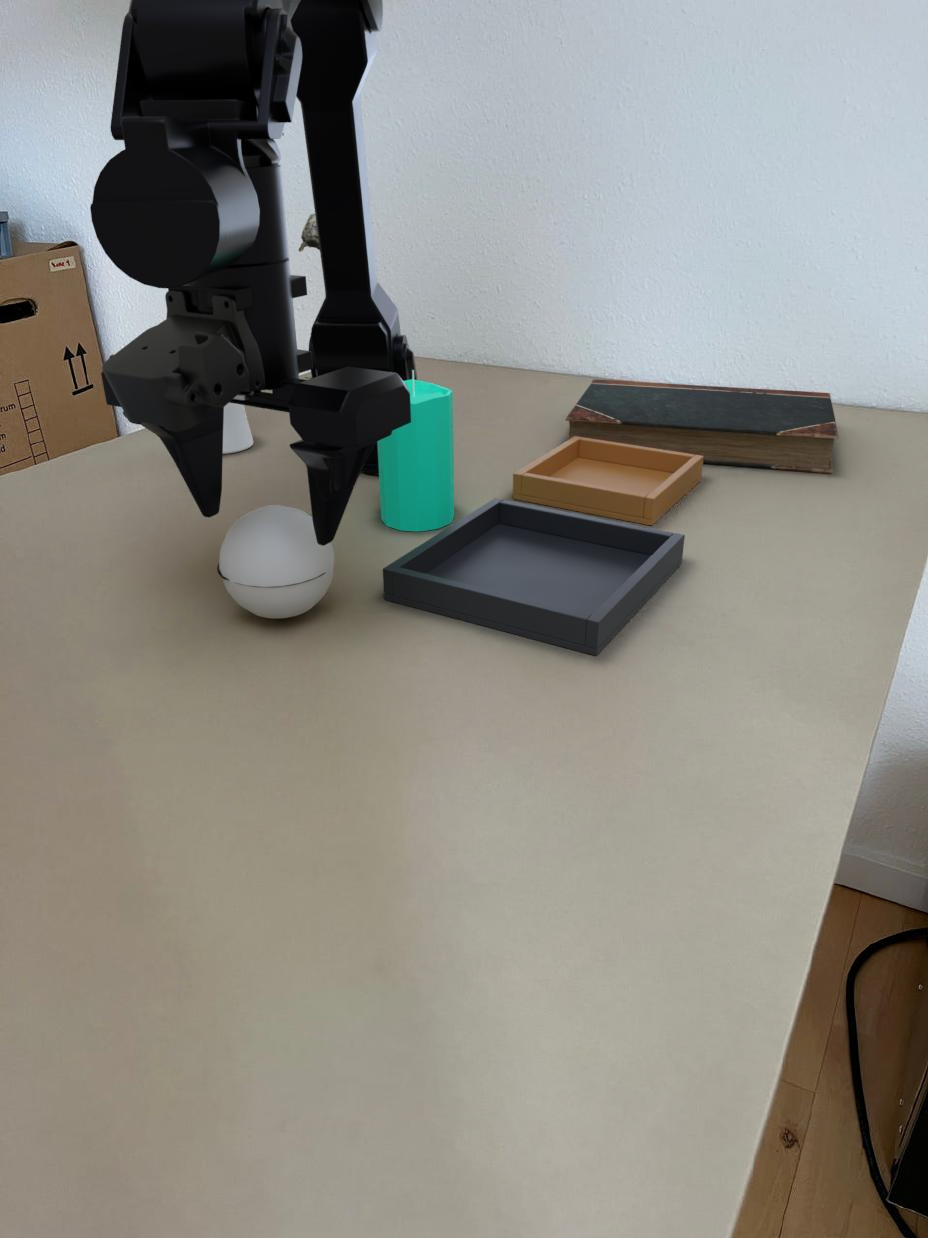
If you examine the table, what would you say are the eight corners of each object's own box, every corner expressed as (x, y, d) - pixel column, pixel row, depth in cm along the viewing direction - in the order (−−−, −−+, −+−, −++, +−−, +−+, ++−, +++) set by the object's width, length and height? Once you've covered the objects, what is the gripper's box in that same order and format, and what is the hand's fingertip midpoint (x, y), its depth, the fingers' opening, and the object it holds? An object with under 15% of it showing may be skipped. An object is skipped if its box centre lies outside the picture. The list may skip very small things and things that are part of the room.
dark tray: (384, 599, 64) (382, 568, 63) (494, 524, 76) (494, 497, 75) (596, 656, 57) (598, 622, 56) (681, 563, 69) (685, 534, 67)
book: (562, 453, 92) (832, 474, 86) (564, 416, 90) (839, 436, 84) (592, 407, 107) (824, 423, 100) (594, 375, 105) (830, 389, 99)
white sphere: (247, 586, 66) (234, 486, 62) (350, 591, 65) (343, 490, 61) (191, 657, 57) (172, 545, 54) (310, 664, 56) (298, 551, 53)
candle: (381, 506, 79) (373, 362, 74) (451, 503, 80) (449, 360, 74) (381, 533, 74) (373, 380, 69) (457, 530, 75) (455, 378, 69)
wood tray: (512, 498, 81) (512, 473, 80) (573, 458, 90) (574, 435, 89) (651, 525, 75) (654, 498, 74) (701, 480, 85) (704, 455, 84)
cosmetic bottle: (225, 458, 91) (193, 212, 81) (179, 449, 94) (143, 210, 84) (266, 442, 96) (241, 207, 86) (221, 433, 99) (192, 205, 88)
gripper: (-7, 267, 49) (56, 544, 56) (269, 293, 40) (301, 615, 48) (155, 245, 57) (192, 488, 65) (411, 263, 49) (420, 540, 56)
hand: (266, 528), depth 58 cm, fingers open, 9 cm apart
